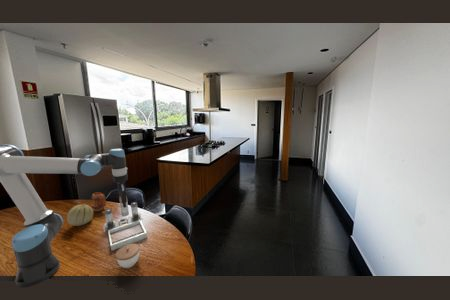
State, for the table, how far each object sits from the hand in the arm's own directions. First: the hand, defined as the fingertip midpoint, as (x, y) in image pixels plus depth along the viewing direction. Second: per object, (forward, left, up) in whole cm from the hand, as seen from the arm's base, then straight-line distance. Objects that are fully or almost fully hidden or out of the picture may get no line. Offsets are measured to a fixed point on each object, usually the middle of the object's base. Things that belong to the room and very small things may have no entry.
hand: (124, 209), depth 114 cm
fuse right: (+17, -8, -17) cm, 25 cm away
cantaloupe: (+35, +24, -19) cm, 46 cm away
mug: (+50, +12, -19) cm, 55 cm away
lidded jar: (-25, +3, -19) cm, 31 cm away
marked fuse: (0, 0, -3) cm, 3 cm away
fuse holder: (+17, 0, -19) cm, 25 cm away
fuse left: (+17, +8, -17) cm, 25 cm away
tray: (0, 0, -19) cm, 19 cm away
